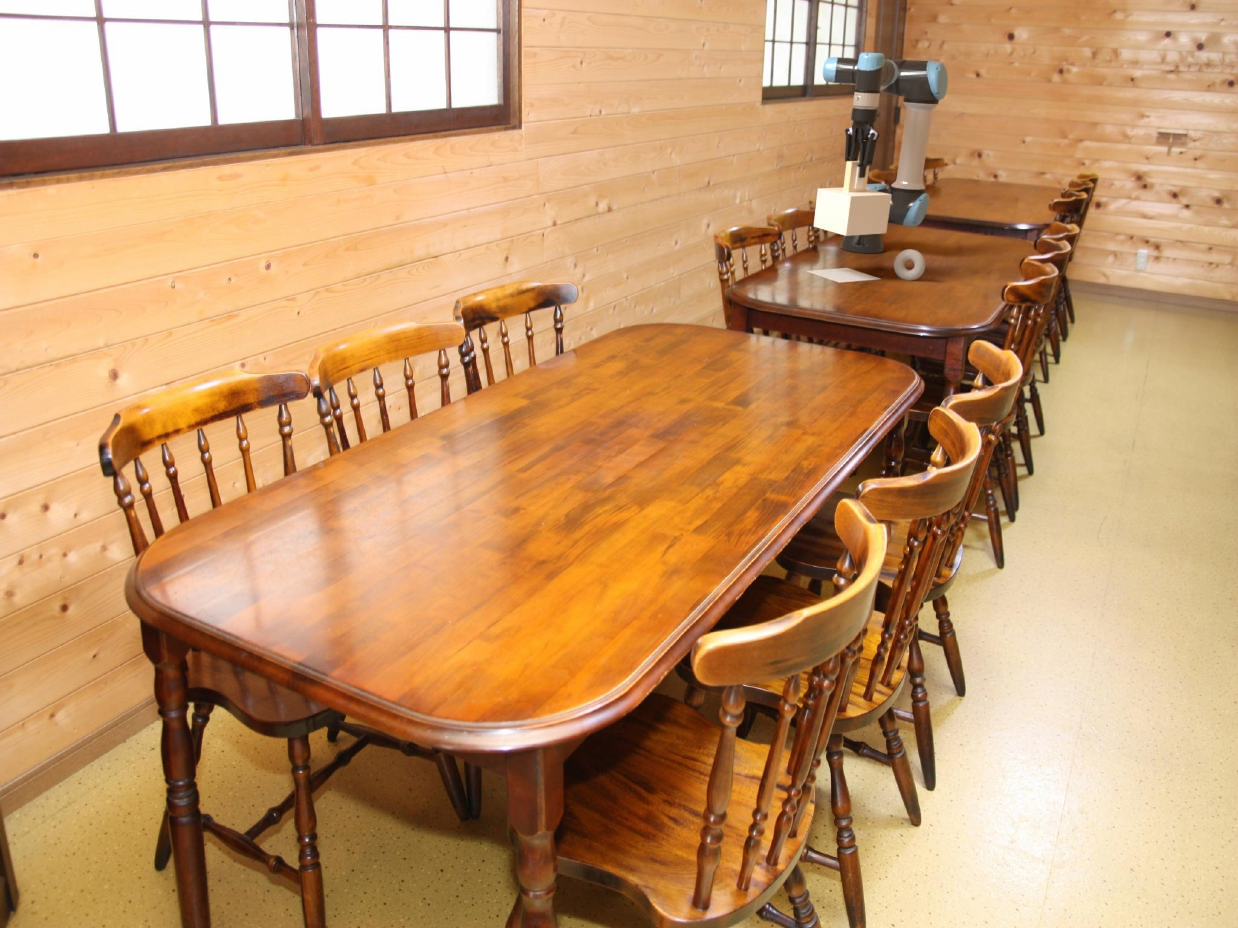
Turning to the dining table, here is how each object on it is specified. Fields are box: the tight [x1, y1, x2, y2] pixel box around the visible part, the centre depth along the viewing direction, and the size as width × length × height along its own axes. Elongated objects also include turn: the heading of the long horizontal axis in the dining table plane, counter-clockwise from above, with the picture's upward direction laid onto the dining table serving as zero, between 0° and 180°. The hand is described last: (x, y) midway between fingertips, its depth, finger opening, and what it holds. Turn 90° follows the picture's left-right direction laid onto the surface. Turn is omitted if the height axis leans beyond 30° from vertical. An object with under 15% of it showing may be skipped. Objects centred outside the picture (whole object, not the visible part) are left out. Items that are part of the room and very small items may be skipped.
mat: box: [806, 267, 881, 284], centre depth 330 cm, size 17×17×1 cm
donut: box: [893, 248, 926, 281], centre depth 327 cm, size 10×3×10 cm, turn 58°
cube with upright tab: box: [813, 160, 892, 236], centre depth 321 cm, size 16×16×21 cm
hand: (855, 187), depth 320 cm, fingers closed on cube with upright tab, 2 cm apart
